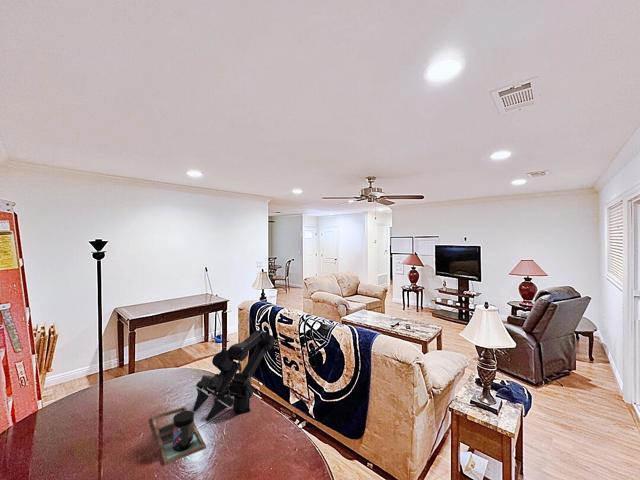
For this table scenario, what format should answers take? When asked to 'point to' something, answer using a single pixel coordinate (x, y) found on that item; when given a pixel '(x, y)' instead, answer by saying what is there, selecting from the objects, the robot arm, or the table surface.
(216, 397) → the black box
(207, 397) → the robot arm
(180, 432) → the supplement container
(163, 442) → the compartment sorting tray
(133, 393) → the table surface
